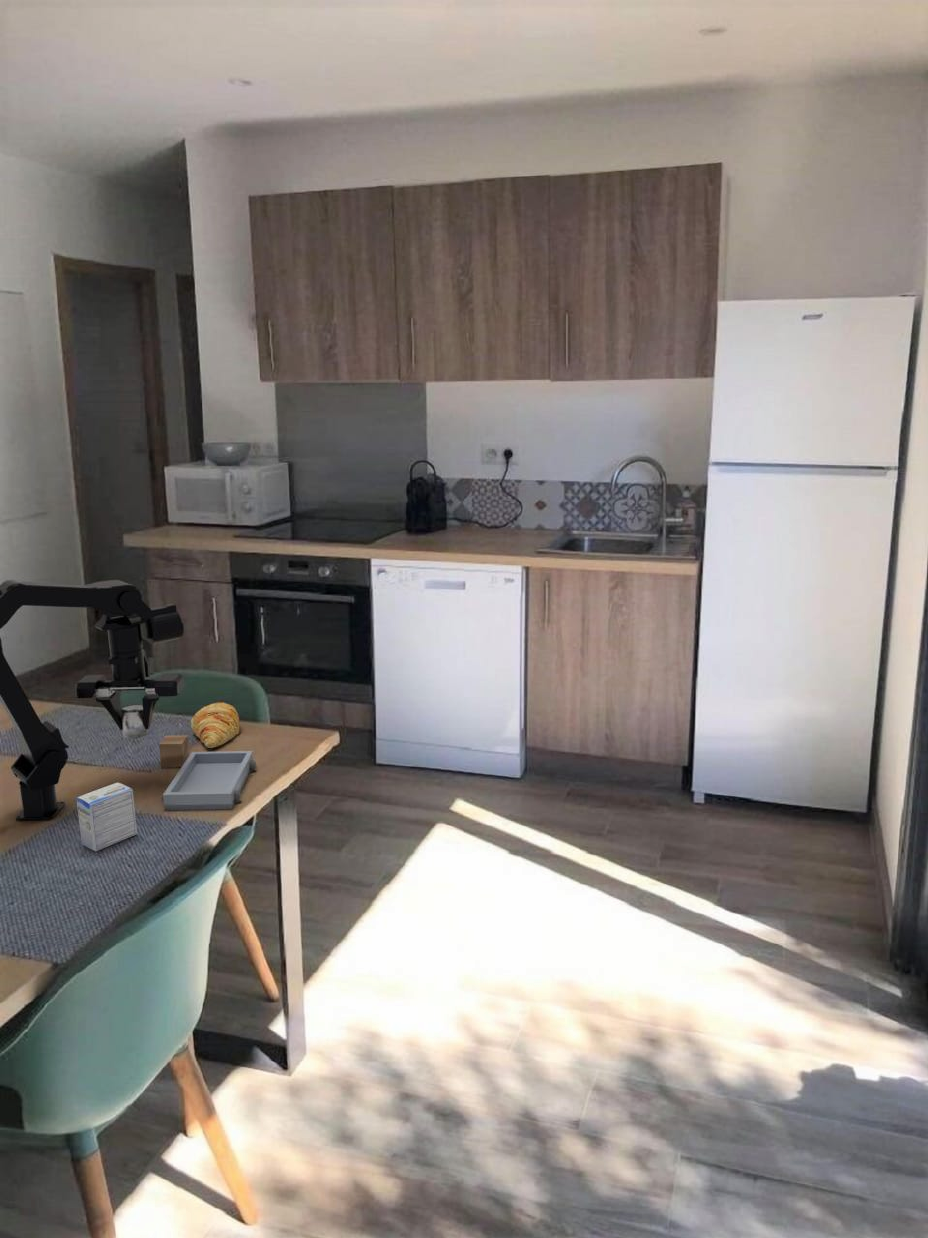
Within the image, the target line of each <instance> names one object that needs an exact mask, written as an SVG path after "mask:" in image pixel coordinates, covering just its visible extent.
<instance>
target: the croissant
mask: <svg viewBox="0 0 928 1238" xmlns="http://www.w3.org/2000/svg"><path fill="white" fill-rule="evenodd" d="M190 726H191V729H192V730H193V731H194V735H195V736H196V737H197V738H198V739H200V742H201V743H203V744H204V746H205V747H206V748H208V749H213V748H217V747H219V746H223V745H224V744H225V743H227V742H229V741H230V740H232V739H233V738H235V736H236V737H237V736H238V735H239V734H240V717H239V713H238V712H237V709H236V708H235V707H234V706H233V705H232V704H231V705H230V704H229V703H226V702H224V701H218V702H214V703H211V704H208V705H205V706H203V707H202V708H200V709H199V710H198V711H197V712H196V713H195V714H194V715H193V717H192V718H191V720H190Z"/></svg>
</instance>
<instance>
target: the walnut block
mask: <svg viewBox="0 0 928 1238" xmlns="http://www.w3.org/2000/svg"><path fill="white" fill-rule="evenodd" d="M189 743H190V742H189V735H188V734H187V735H183V734H182V735H164V737H163V738H162V739H161V741H160V742H159V743H158V748H159V749H158V750H159V757H160V758H159V759H160V768H181V767H182V766H183V765H184V763H185V762H186V760H187V759H188V757H189V756H190V754H191V752H190V746H189V745H190V744H189Z"/></svg>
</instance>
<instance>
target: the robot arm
mask: <svg viewBox="0 0 928 1238" xmlns="http://www.w3.org/2000/svg"><path fill="white" fill-rule="evenodd" d="M142 596H143V595H142V594H141V591H140V590H139V589H138V587H136V586H135V585H133V584H130V583H127V582H124V581H122V580H118V579H113V580H112V579H111V580H110V579H109V580H101V581H96V582H93V583H89V584H73V583H72V584H71V583H70V584H69V583H49V582H48V583H47V582H31V581H30V582H29V581H28V582H27V581H17V580H15V579H9V580H5V581H3V582H1V584H0V630H1V629H2V628H3V627H4V626H6V624H8V623H9V621H10V620H11V619H12V618H13V617H14V615H15V614H16V613H17V611H18V610H19V609H20V608H22V607H23V606H27V607H28V606H31V607H56V608H59V607H60V608H83V609H84V608H87V609H90V610H91V609H92V610H96V611H99V612H100V611H101V612H104V613H108V614H111V615H113V614H114V615H117V616H115V617H110V616H109V615H106V614H103V615H101V618H100V619H99V620H98V621H97V622H96V623H95V624H94V627H95V628H96V629H98V630H99V631H100V630H101V631H102V632H104V631H105V632H107V635H108V636H107V638H108V645H109V653H110V657H109V658H108V664H109V665H111V671H112V672H111V673H112V680H109V679H108V680H107V677H106V676H105V674H90V675H89V674H88V675H85V676H84V677H82V678H81V679H80V680H79V681H77V682H76V684H75V685H74V693H75V694H74V695H75V698H76V699H92V698H93V697H94V696H95V695H96V698H95V702H96V703H100V704H101V705H102V706H103V708H104V709H105V710H106V711H107V712H108V713H109V715H110V716H111V718H112V719H113V721H114V723H115V724H116V725H117V727H118V728H119V730H120V731H123V728H122V719H121V709H122V708H123V707H122V703H121V692H122V691H145V693H146V694H145V695H144V696H143V698H142V699H141V700H142V702H141V703H142V706H143V714H144V724H145V728H146V730H148V731H149V729H150V726H151V725H152V719H153V715H154V711H155V708H156V706H157V705H156V704H157V702H158V701H160V700H161V698H162V697H176V696H179V695H180V693H181V692H182V691H183V690H184V689H185V687H186V685H185V684H186V683H185V678H184V676H183V675H182V674H181V673H180V672H179V673H177V672H175V673H173V672H172V673H170V672H169V673H161V674H160V675H159V676H158V678H157V679H147V678H149V677H151V675H155V658H154V657H150V656H149V657H148V656H147V654H146V650H145V649H143V647H144V645H143V640H144V641H147V642H148V644H150V645H155V644H160V643H164V642H169V641H174V640H179V639H182V638H183V637H184V631H185V629H184V627H185V626H184V622H183V621H182V619H181V616H180V614H179V612H178V611H177V605H176V604H173V603H166V604H163V605H159V606H155V607H149V606H148V605H147V603H146V602H144V600H143V598H142ZM132 615H134V616H136V617H133V618H129V617H130V616H132ZM0 703H1V705H2V706H3V708H4V710H5V712H6V714H7V715H8V717H9V719H10V721H11V722H12V725H14V728H15V730H16V736H17V741H18V745H19V749H20V751H21V754H19V756H18V757H17V758H16V760H15V761H14V762H13V764H12V765H11V766H10V770H11V772H12V773H13V775H14V777H16V779H18V780H19V781H18V784H19V785H18V786H19V793H20V799H21V800H20V801H21V805H22V807H21V808H22V810H21V811H20V812H19V813H18V814H17V815H15V817H14V818H15V820H16V821H39V820H40V821H41V820H44V821H45V820H46V821H47V820H53V819H54V818H55V816H57V815H58V813H59V812H60V811H61V810H62V809H63V808H64V806H65V805H66V802H65V801H58V799H57V792H56V791H57V790H56V785H58V784H59V781H60V777H61V772H62V770H63V768H65V765H66V764H67V761H68V760H69V754H68V751H67V749H69V747H70V746H69V745H68V744H66V743H65V741H64V739H63V737H62V734H61V731H60V729H59V728H58V727H56V725H54V724H53V723H51V722H50V721H48V720H44V722H42V721H41V719H40V717H39V715H38V714H37V712H36V710H35V709H34V707H33V705H32V703H31V702H30V700H29V698H28V697H27V695H26V693H25V691H24V689H23V687H22V686H21V683H20V682H19V680H18V679H17V677H16V675H15V673H14V671H13V670H12V668H11V666H10V664H9V663H8V661H7V658H6V656H5V655H4V648H3V643H2V638H1V637H0Z"/></svg>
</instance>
